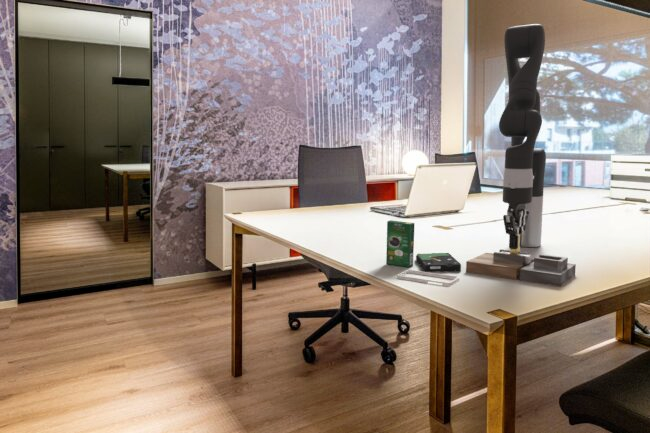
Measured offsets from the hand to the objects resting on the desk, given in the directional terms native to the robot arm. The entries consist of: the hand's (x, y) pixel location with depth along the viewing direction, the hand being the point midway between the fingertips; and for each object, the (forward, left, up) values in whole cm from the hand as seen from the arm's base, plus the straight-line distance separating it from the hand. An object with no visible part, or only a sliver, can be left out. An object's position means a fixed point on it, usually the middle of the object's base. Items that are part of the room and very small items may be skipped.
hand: (515, 247), depth 145 cm
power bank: (+20, -16, -8) cm, 27 cm away
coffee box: (+11, -30, -7) cm, 33 cm away
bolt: (0, 0, -4) cm, 4 cm away
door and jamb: (0, +2, -7) cm, 7 cm away
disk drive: (+5, -21, -8) cm, 23 cm away
